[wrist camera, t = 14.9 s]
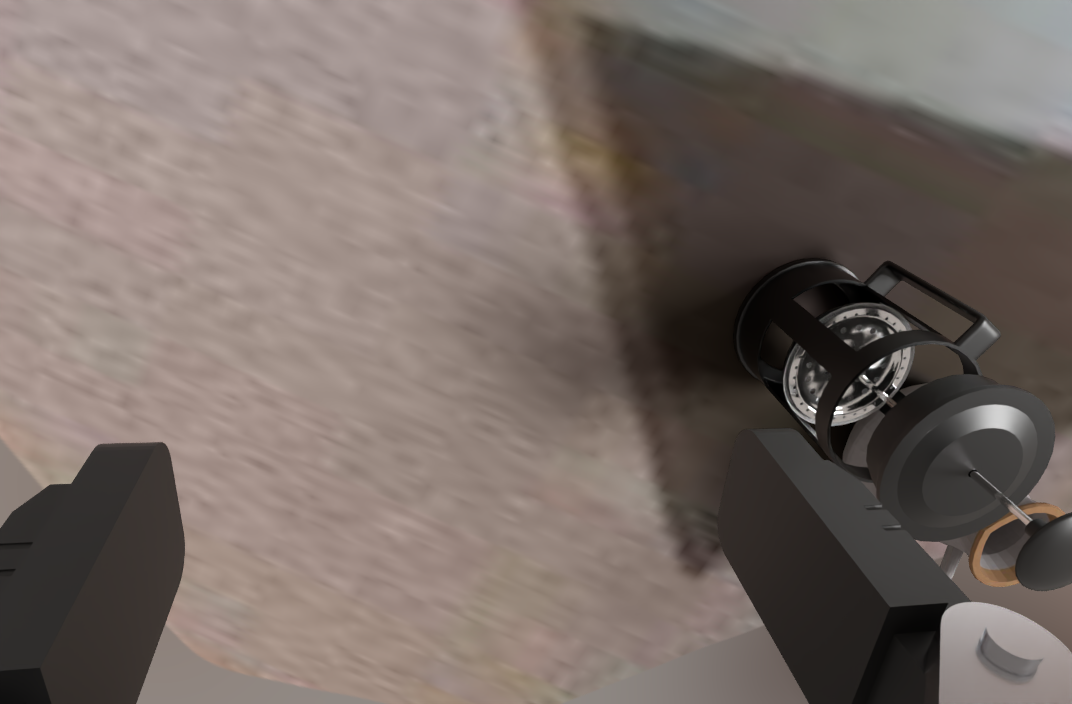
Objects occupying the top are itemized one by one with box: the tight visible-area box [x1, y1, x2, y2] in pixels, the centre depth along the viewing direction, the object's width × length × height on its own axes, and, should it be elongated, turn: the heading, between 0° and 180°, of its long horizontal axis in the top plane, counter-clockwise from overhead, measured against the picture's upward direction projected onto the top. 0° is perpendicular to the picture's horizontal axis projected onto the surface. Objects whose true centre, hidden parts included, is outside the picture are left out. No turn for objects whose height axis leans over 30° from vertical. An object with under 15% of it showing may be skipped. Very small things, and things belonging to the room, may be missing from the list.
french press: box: [734, 258, 1072, 591], centre depth 40 cm, size 12×9×23 cm
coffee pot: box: [842, 383, 1065, 587], centre depth 51 cm, size 21×12×15 cm, turn 150°
